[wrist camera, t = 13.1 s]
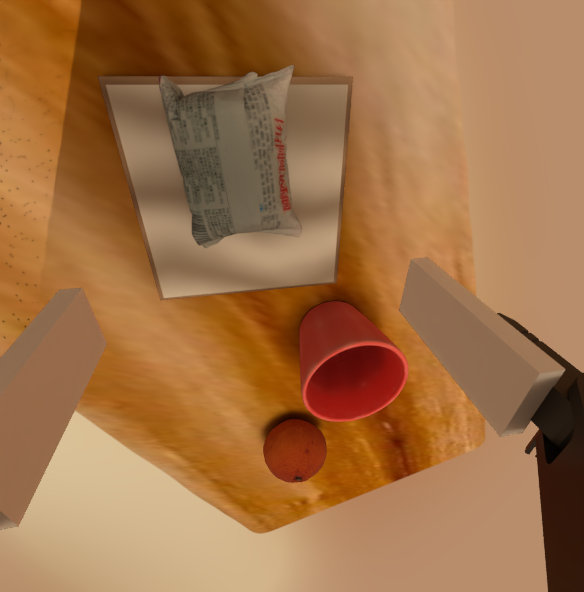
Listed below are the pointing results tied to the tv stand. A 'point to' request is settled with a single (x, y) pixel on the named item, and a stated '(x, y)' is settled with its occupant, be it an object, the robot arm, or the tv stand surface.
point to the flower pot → (347, 364)
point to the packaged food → (233, 155)
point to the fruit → (295, 450)
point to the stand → (243, 246)
